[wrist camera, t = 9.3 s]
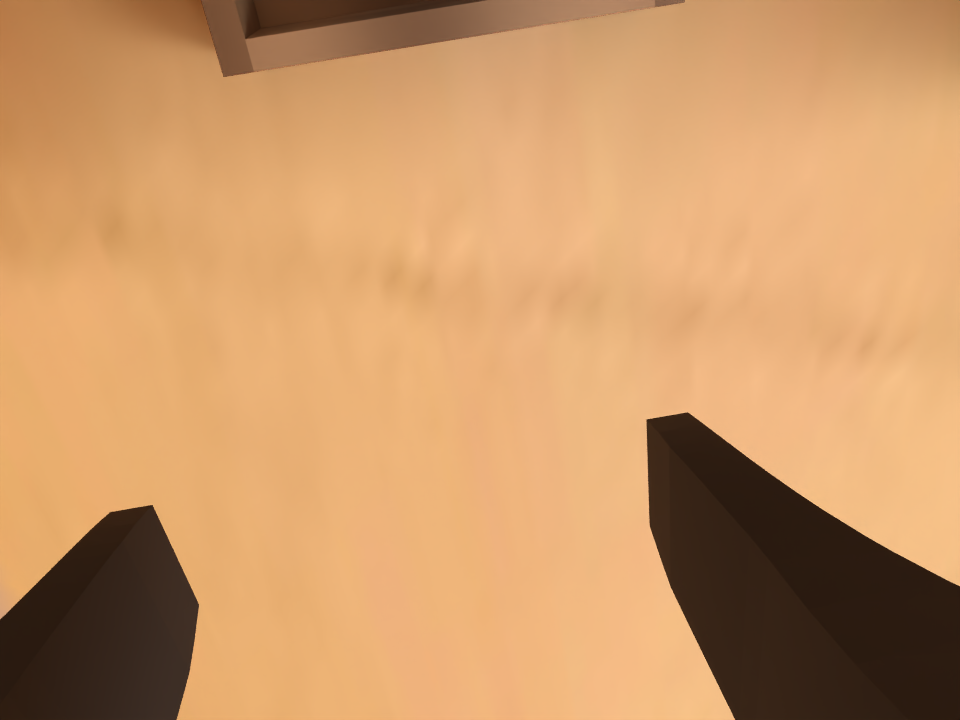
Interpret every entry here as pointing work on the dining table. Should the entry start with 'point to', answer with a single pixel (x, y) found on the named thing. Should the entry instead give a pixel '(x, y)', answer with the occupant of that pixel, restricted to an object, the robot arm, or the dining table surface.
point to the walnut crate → (374, 25)
